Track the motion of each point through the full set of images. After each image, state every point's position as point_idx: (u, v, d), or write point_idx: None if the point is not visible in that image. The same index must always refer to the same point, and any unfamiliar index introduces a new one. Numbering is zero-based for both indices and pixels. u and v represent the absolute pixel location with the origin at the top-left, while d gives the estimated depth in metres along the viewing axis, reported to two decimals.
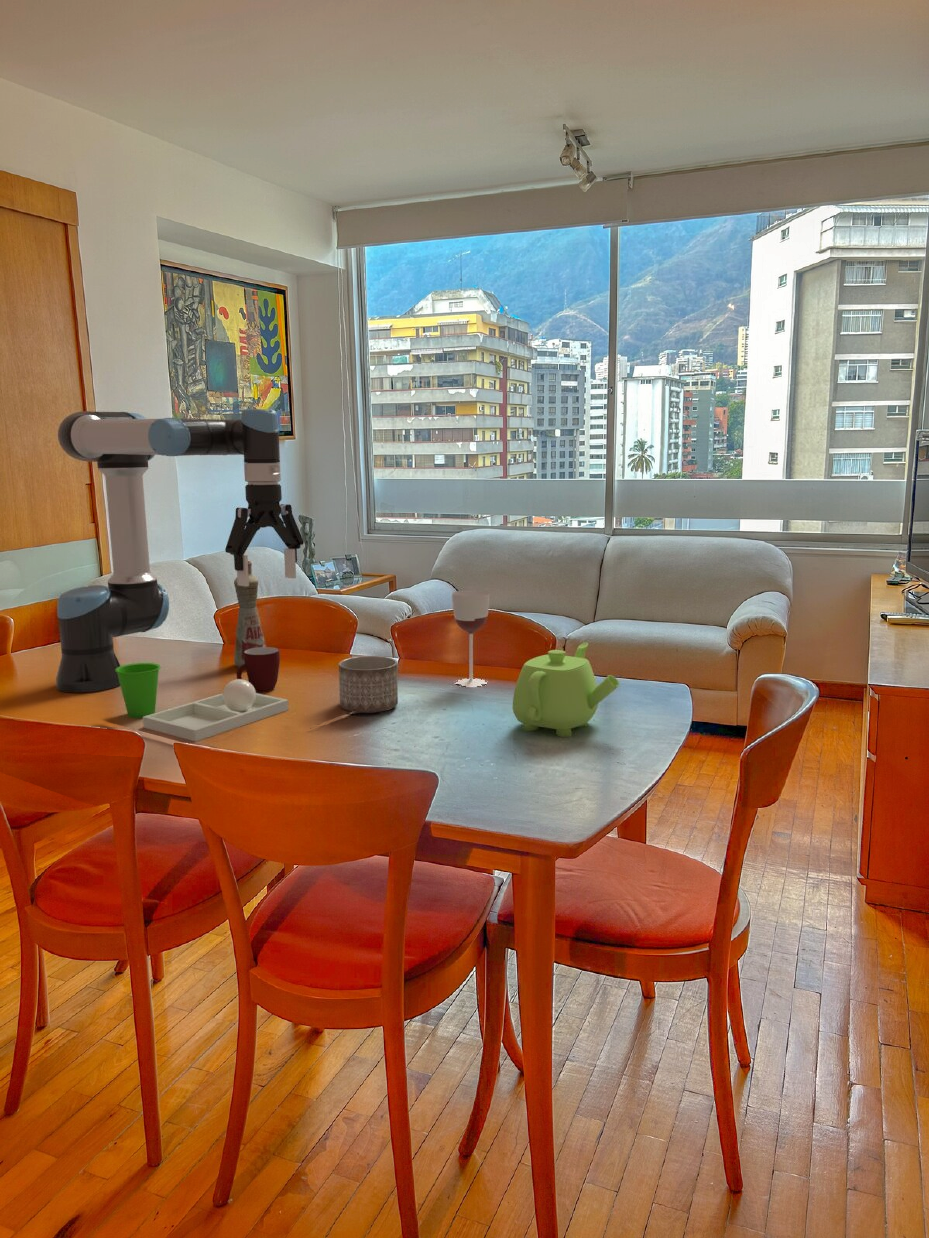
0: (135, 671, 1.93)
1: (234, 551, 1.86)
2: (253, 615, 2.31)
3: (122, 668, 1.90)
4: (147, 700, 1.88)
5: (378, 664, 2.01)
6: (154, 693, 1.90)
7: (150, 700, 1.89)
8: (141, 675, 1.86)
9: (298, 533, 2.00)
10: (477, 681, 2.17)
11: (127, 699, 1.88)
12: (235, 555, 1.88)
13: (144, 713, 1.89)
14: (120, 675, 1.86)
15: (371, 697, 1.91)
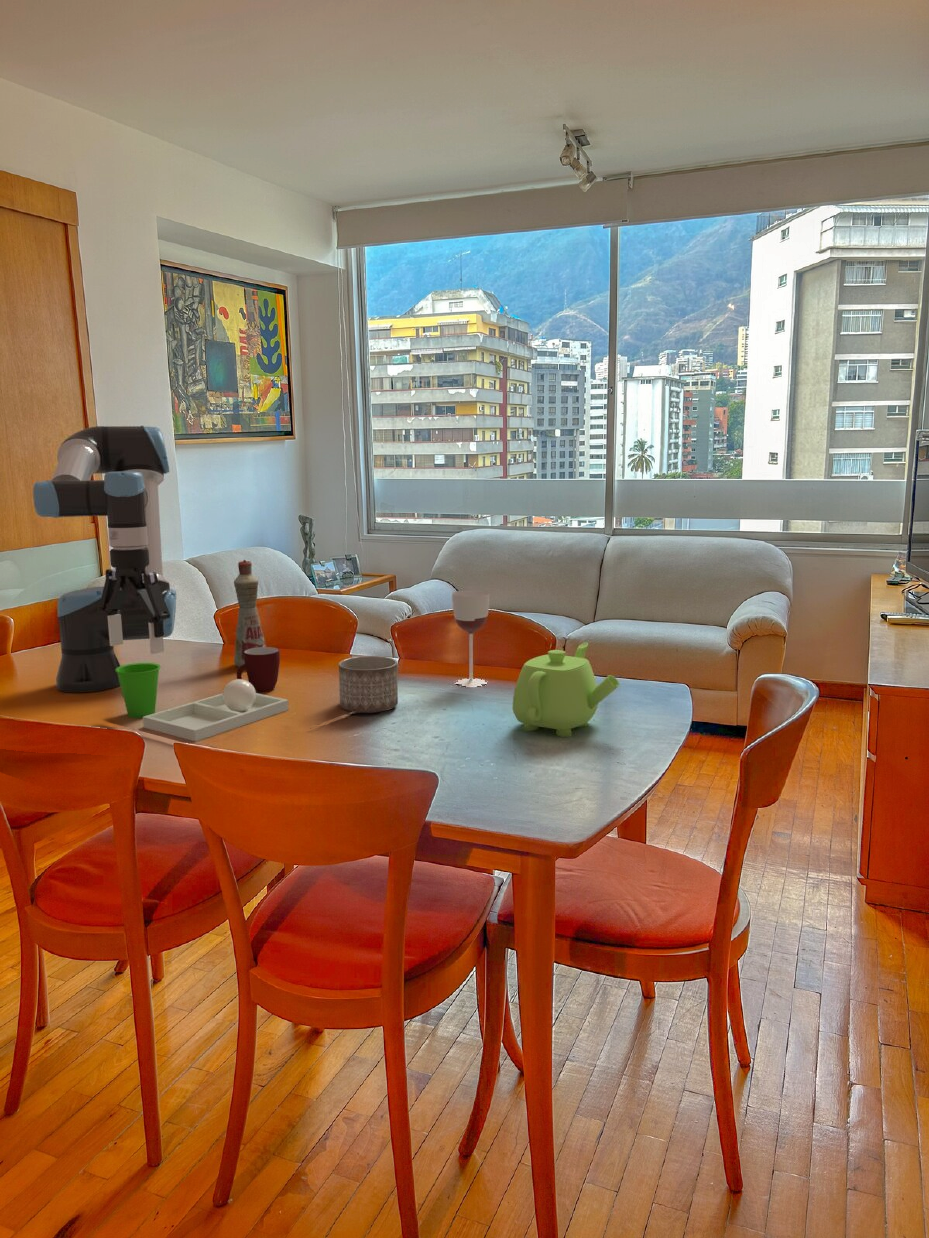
0: (135, 671, 1.93)
1: (99, 609, 1.91)
2: (253, 615, 2.31)
3: (122, 668, 1.90)
4: (147, 700, 1.88)
5: (378, 664, 2.01)
6: (154, 693, 1.90)
7: (150, 700, 1.89)
8: (141, 675, 1.86)
9: (154, 606, 1.81)
10: (477, 681, 2.17)
11: (127, 699, 1.88)
12: None
13: (144, 713, 1.89)
14: (120, 675, 1.86)
15: (371, 697, 1.91)
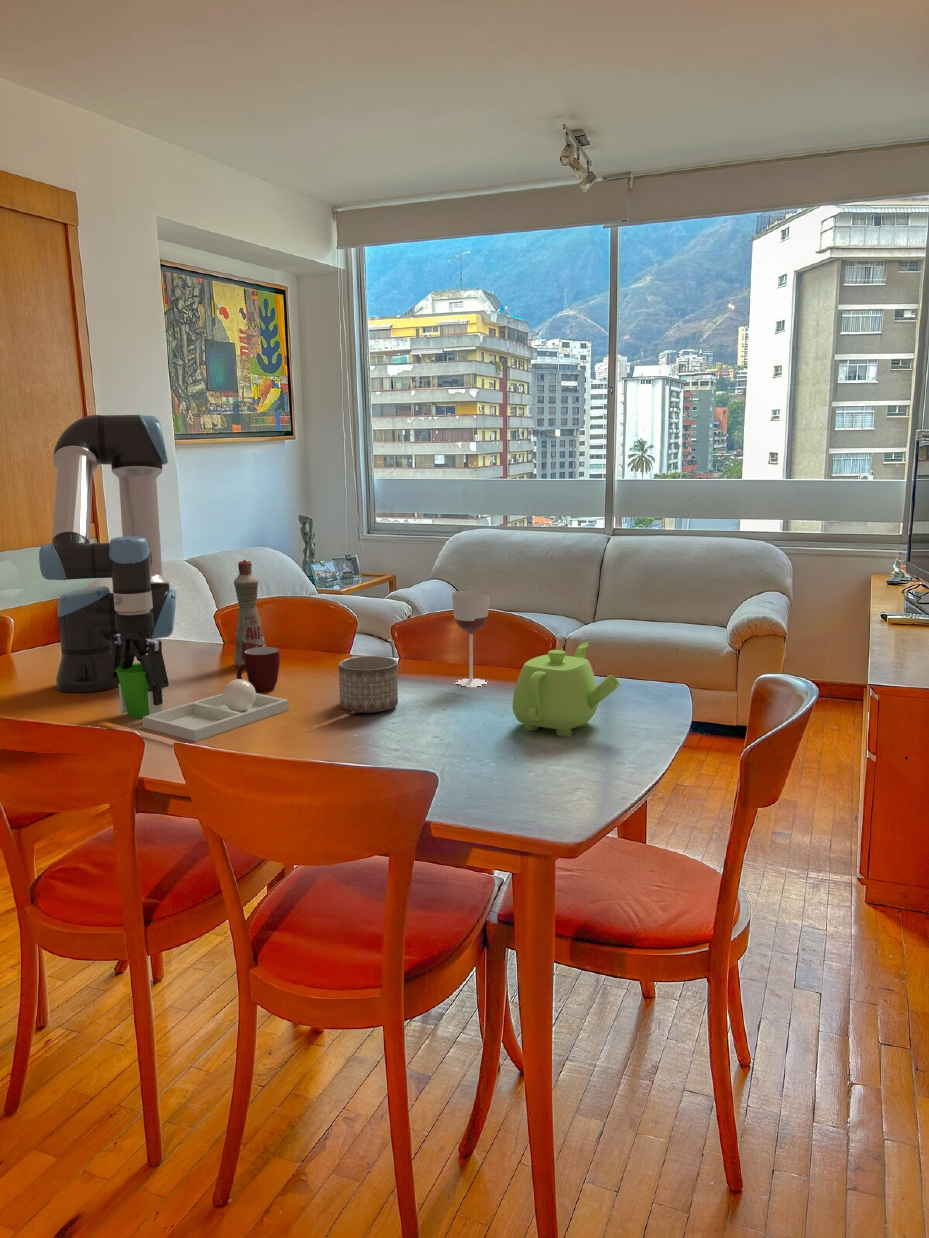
0: (135, 671, 1.93)
1: (111, 676, 1.93)
2: (253, 615, 2.31)
3: None
4: (147, 700, 1.88)
5: (378, 664, 2.01)
6: None
7: None
8: (141, 675, 1.86)
9: (155, 675, 1.84)
10: (477, 681, 2.17)
11: (127, 699, 1.88)
12: None
13: (144, 713, 1.89)
14: (120, 675, 1.86)
15: (371, 697, 1.91)
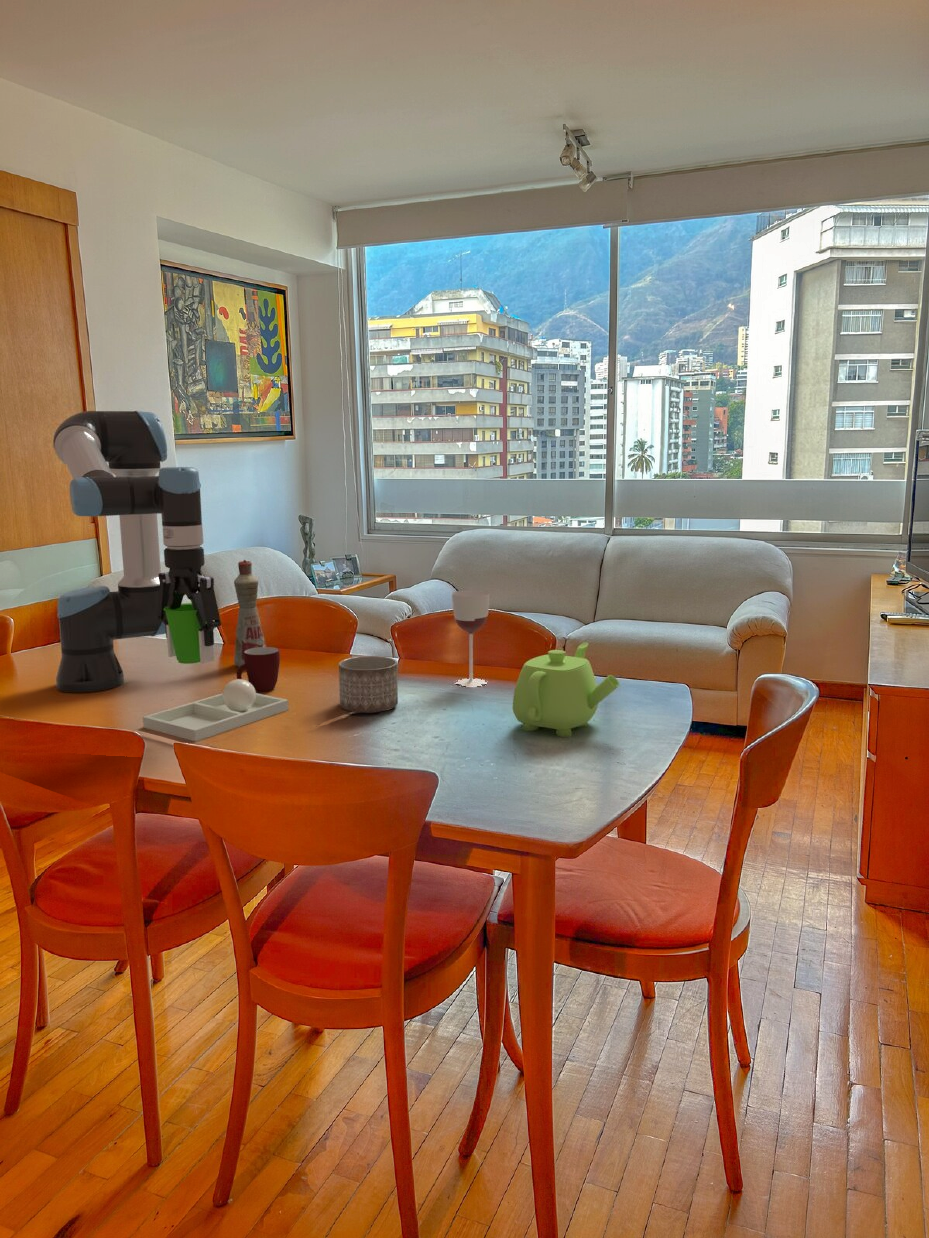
0: None
1: (158, 618, 1.82)
2: (253, 615, 2.31)
3: None
4: (197, 641, 1.77)
5: (378, 664, 2.01)
6: None
7: None
8: (191, 614, 1.75)
9: (207, 613, 1.74)
10: (477, 681, 2.17)
11: (176, 640, 1.77)
12: None
13: (194, 655, 1.78)
14: (169, 614, 1.75)
15: (371, 697, 1.91)
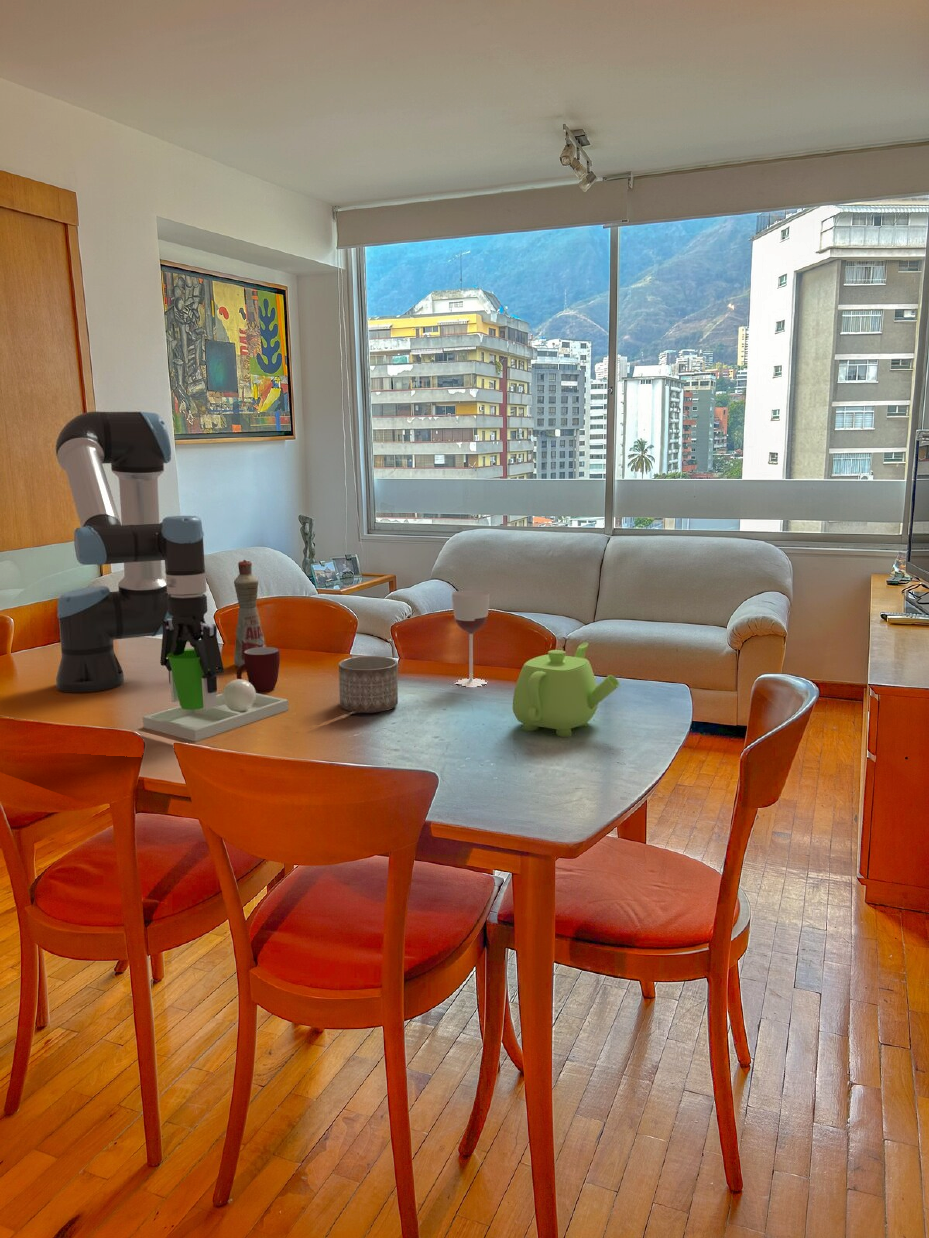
0: (186, 657, 1.84)
1: (161, 663, 1.84)
2: (253, 615, 2.31)
3: (173, 654, 1.81)
4: (200, 687, 1.79)
5: (378, 664, 2.01)
6: None
7: None
8: (195, 661, 1.77)
9: (210, 661, 1.75)
10: (477, 681, 2.17)
11: (179, 686, 1.79)
12: None
13: (197, 701, 1.80)
14: (172, 661, 1.77)
15: (371, 697, 1.91)
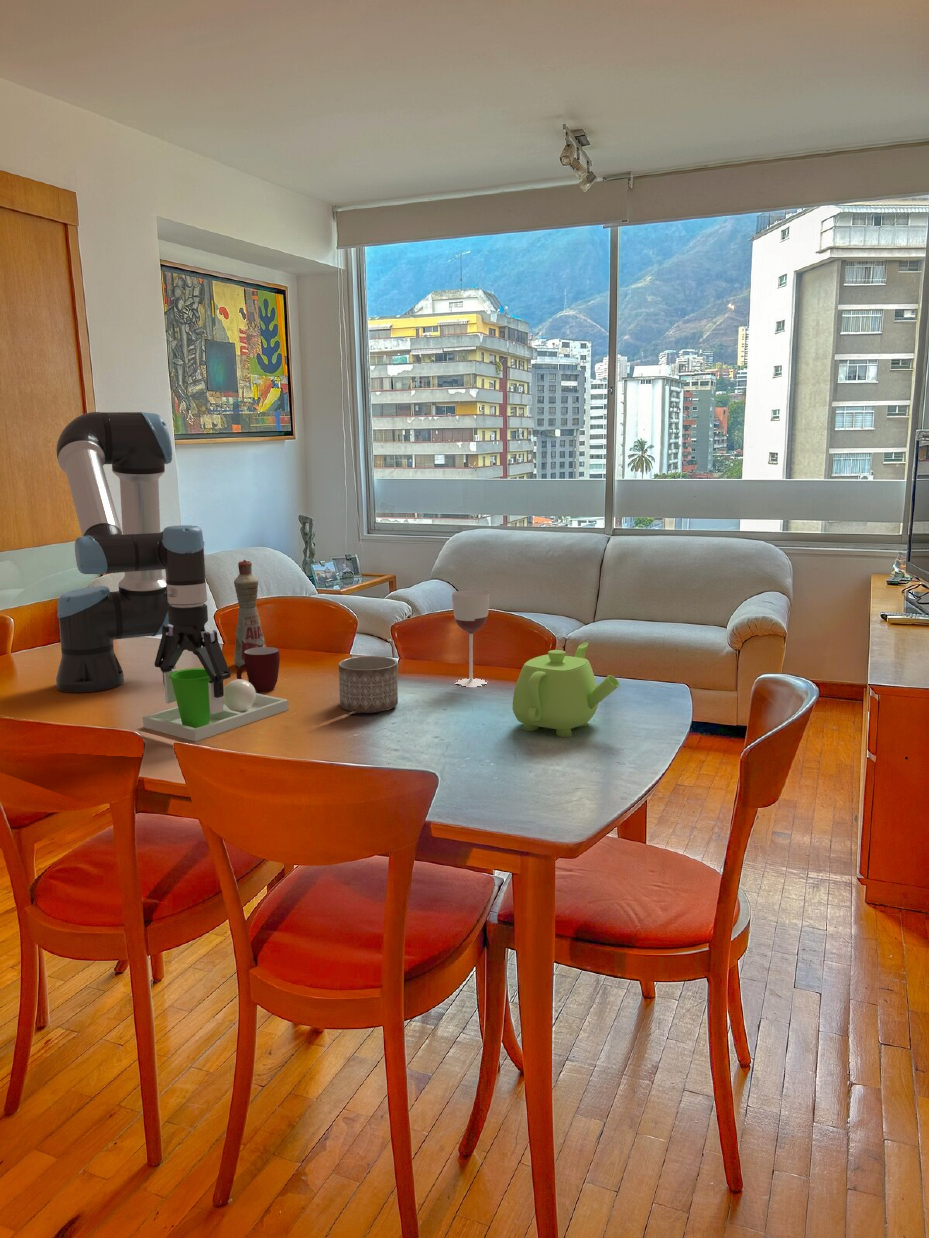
0: (188, 677, 1.84)
1: (155, 665, 1.85)
2: (253, 615, 2.31)
3: (176, 674, 1.82)
4: (202, 707, 1.80)
5: (378, 664, 2.01)
6: None
7: (205, 707, 1.80)
8: (197, 681, 1.78)
9: (215, 666, 1.75)
10: (477, 681, 2.17)
11: (182, 706, 1.79)
12: None
13: (199, 721, 1.80)
14: (175, 681, 1.78)
15: (371, 697, 1.91)
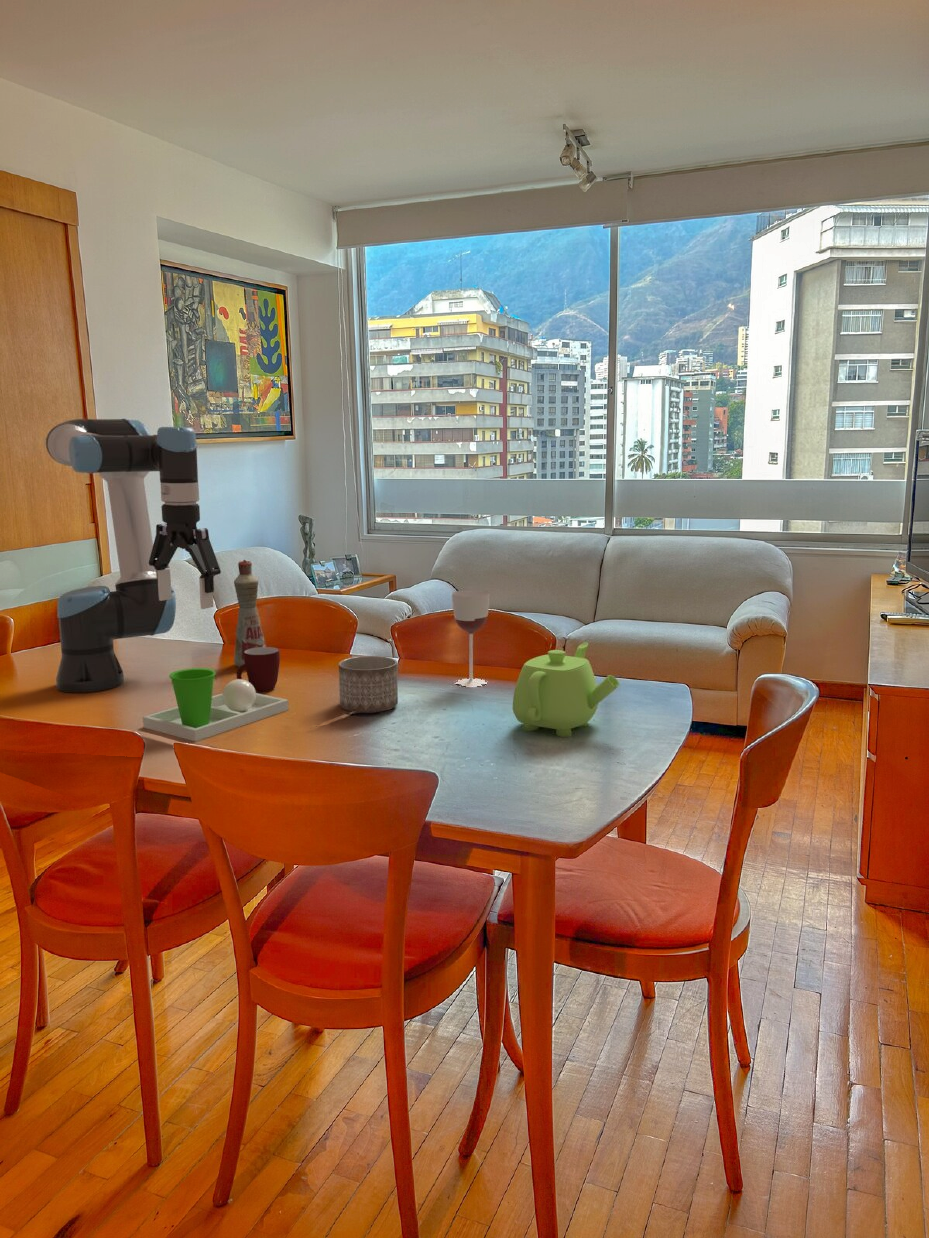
0: (189, 677, 1.84)
1: (149, 563, 1.93)
2: (253, 615, 2.31)
3: (176, 674, 1.82)
4: (202, 707, 1.80)
5: (378, 664, 2.01)
6: (209, 700, 1.81)
7: (205, 707, 1.80)
8: (197, 681, 1.78)
9: (206, 562, 1.82)
10: (477, 681, 2.17)
11: (182, 706, 1.79)
12: None
13: (199, 721, 1.80)
14: (175, 681, 1.78)
15: (371, 697, 1.91)
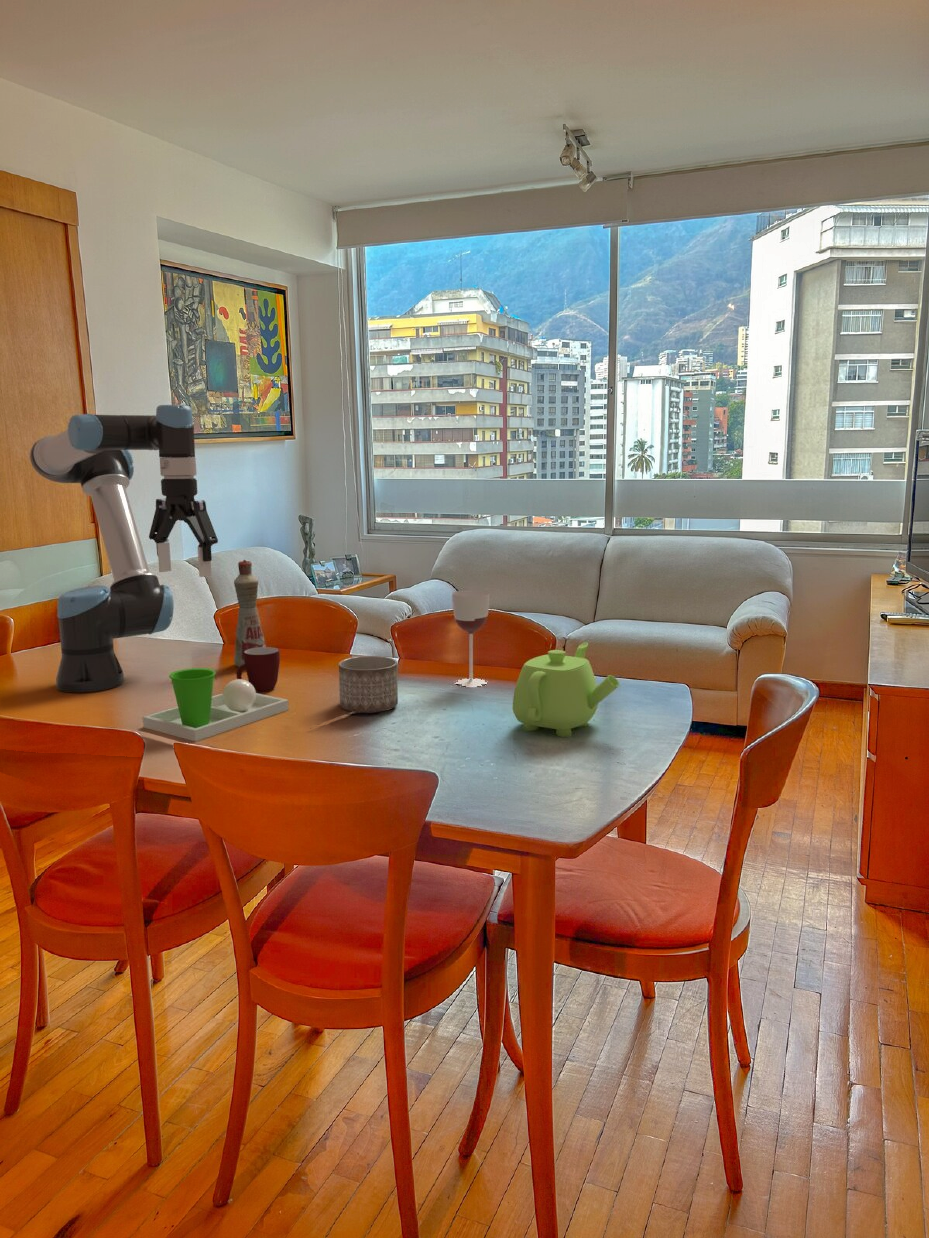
0: (189, 677, 1.85)
1: (149, 537, 2.03)
2: (253, 615, 2.31)
3: (176, 674, 1.82)
4: (202, 707, 1.80)
5: (378, 664, 2.01)
6: (209, 700, 1.81)
7: (205, 707, 1.80)
8: (197, 681, 1.78)
9: (203, 531, 1.93)
10: (477, 681, 2.17)
11: (182, 706, 1.79)
12: None
13: (199, 721, 1.80)
14: (175, 681, 1.78)
15: (371, 697, 1.91)
